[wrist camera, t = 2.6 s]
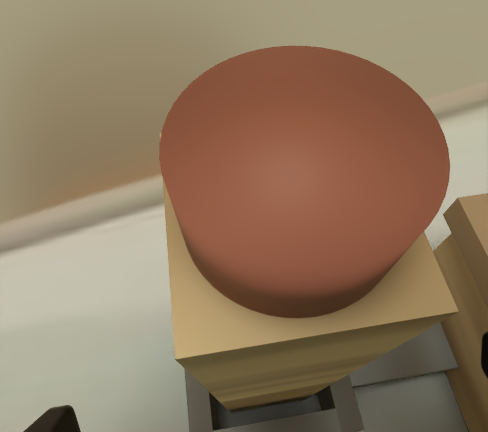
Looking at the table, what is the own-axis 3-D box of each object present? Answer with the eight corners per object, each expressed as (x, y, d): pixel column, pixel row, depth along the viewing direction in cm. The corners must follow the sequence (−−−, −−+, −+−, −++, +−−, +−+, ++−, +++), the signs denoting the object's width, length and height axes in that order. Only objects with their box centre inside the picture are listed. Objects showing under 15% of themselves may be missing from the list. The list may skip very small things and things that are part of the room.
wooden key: (304, 399, 17) (539, 265, 3) (230, 412, 16) (144, 329, 3) (288, 325, 18) (400, 21, 5) (221, 336, 18) (134, 51, 4)
